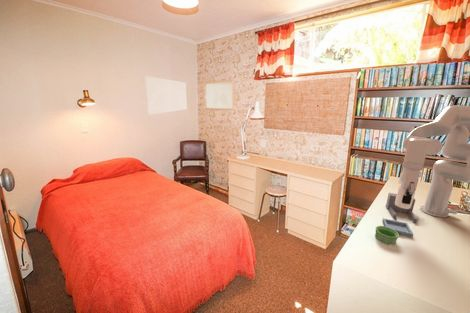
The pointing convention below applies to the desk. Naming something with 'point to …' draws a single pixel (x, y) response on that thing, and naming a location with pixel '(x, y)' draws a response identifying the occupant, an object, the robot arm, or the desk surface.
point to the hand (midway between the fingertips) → (403, 200)
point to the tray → (398, 227)
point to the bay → (392, 208)
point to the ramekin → (386, 235)
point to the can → (400, 196)
